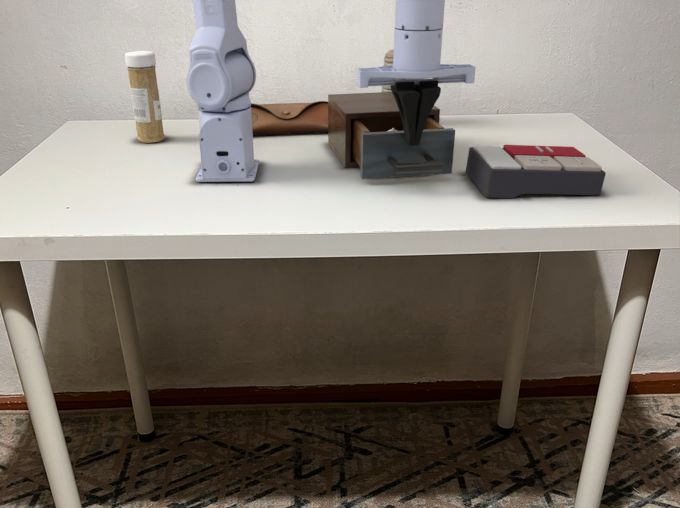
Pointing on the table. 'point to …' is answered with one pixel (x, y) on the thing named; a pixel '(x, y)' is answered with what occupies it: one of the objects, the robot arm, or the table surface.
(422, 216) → the table surface
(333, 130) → the cabinet
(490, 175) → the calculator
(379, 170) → the drawer
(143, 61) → the sprinkles bottle
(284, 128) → the sunglasses case
